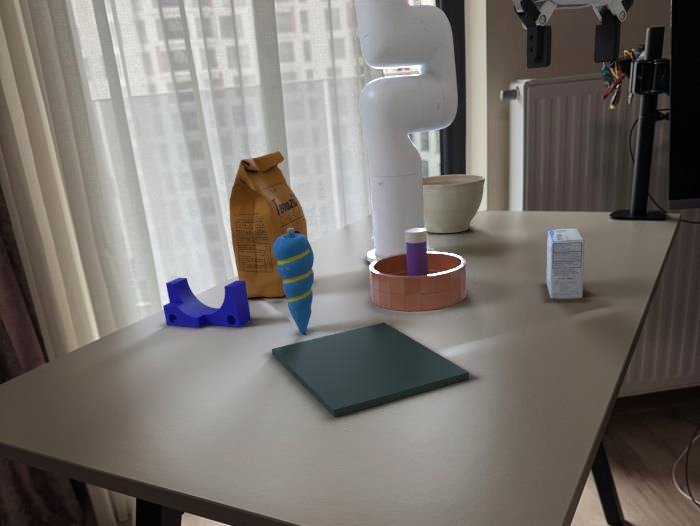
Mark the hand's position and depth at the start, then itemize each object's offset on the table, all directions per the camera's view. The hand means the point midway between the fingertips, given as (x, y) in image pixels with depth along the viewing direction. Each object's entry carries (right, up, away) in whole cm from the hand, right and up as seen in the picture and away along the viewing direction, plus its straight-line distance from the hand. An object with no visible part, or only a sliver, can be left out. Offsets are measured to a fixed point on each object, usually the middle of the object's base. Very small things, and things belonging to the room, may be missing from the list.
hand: (573, 64), depth 73 cm
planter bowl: (-4, -6, +70) cm, 70 cm away
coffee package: (-37, -22, +36) cm, 56 cm away
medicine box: (+6, -24, +22) cm, 33 cm away
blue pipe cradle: (-46, -28, +23) cm, 59 cm away
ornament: (-31, -30, +16) cm, 46 cm away
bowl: (-15, -24, +25) cm, 38 cm away
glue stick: (-15, -24, +25) cm, 38 cm away
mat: (-23, -34, +3) cm, 41 cm away
